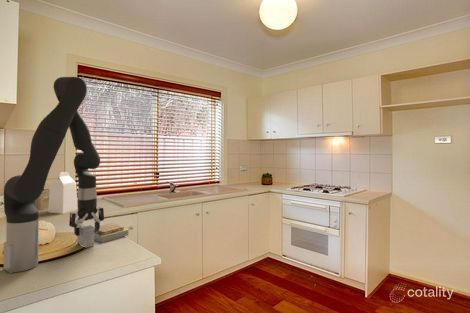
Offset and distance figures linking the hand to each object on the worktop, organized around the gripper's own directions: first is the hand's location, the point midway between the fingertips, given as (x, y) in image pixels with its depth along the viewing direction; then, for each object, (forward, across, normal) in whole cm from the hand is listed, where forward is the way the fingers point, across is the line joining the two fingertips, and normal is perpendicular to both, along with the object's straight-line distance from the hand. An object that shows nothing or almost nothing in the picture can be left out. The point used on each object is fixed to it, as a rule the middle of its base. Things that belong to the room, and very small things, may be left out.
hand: (87, 233), depth 121 cm
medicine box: (+6, -1, 0) cm, 6 cm away
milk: (+6, +22, +73) cm, 76 cm away
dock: (+6, +12, +5) cm, 14 cm away
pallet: (+3, +12, +5) cm, 13 cm away
